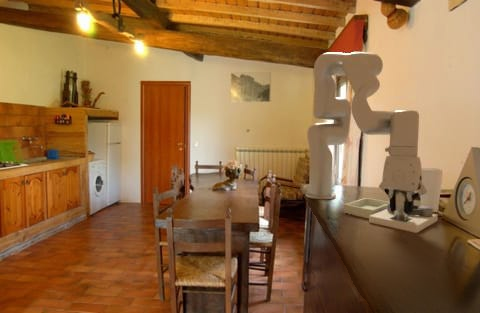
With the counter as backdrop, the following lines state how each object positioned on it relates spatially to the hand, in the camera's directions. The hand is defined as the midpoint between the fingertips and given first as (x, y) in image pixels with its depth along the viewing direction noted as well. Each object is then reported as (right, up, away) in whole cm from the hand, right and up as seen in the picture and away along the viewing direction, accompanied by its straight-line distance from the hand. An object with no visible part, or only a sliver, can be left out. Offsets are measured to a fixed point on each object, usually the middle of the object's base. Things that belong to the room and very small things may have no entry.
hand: (401, 211), depth 97 cm
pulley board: (+3, -4, +4) cm, 6 cm away
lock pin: (0, -4, 0) cm, 4 cm away
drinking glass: (+18, -3, +16) cm, 24 cm away
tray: (-4, -3, +16) cm, 16 cm away
